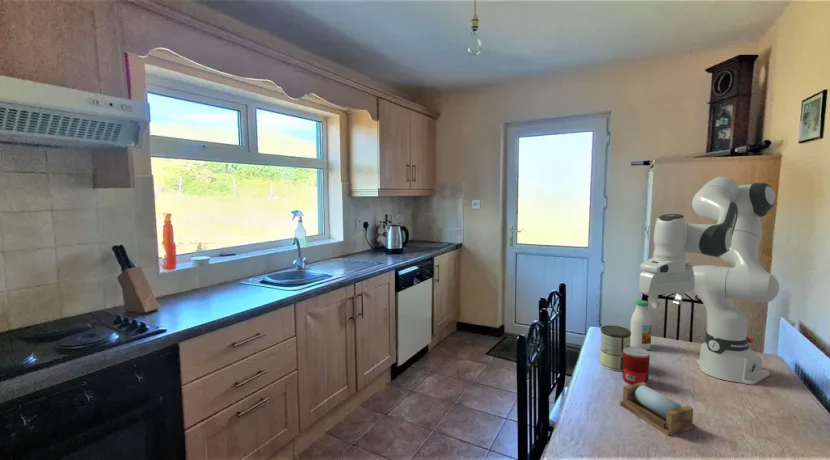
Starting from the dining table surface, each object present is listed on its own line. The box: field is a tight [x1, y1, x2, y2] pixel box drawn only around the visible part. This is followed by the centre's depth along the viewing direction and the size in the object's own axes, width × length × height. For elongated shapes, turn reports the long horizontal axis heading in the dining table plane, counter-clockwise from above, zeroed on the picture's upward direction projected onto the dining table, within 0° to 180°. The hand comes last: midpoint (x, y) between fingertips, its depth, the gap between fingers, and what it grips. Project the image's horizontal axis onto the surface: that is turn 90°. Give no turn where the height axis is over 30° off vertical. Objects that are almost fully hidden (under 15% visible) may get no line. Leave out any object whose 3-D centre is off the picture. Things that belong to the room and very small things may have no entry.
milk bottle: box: [629, 299, 652, 351], centre depth 162 cm, size 8×8×20 cm
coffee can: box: [599, 325, 631, 372], centre depth 145 cm, size 10×10×14 cm
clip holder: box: [619, 382, 696, 437], centre depth 113 cm, size 10×16×6 cm, turn 18°
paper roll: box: [635, 385, 682, 419], centre depth 113 cm, size 6×11×6 cm, turn 18°
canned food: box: [621, 346, 651, 385], centre depth 133 cm, size 8×8×11 cm
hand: (666, 306), depth 124 cm, fingers open, 8 cm apart
